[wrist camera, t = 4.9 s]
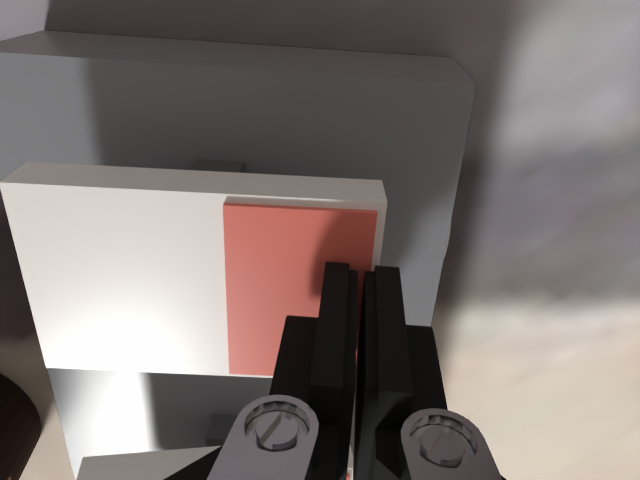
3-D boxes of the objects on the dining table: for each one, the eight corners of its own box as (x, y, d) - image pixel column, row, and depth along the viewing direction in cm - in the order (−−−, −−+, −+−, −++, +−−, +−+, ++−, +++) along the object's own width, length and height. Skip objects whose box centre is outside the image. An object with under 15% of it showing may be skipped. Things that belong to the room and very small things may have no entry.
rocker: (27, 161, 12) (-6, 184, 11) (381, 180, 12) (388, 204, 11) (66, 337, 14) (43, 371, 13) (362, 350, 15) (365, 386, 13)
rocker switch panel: (42, 30, 16) (-63, 57, 12) (460, 57, 15) (495, 95, 11) (120, 450, 24) (74, 547, 20) (388, 475, 24) (394, 578, 20)
